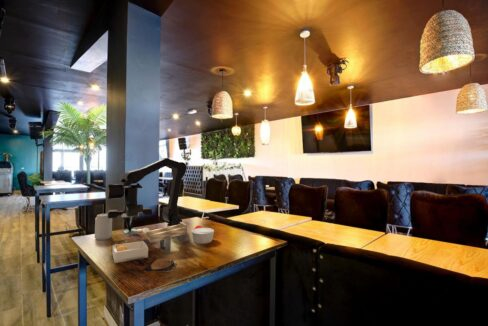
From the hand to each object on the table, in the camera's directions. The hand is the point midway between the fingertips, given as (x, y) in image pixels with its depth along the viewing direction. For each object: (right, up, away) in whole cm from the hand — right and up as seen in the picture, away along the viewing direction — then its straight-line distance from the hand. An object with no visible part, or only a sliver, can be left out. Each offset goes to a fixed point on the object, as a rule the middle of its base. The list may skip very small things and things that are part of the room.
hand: (129, 230), depth 114 cm
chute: (+13, -3, -3) cm, 14 cm away
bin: (+7, -6, -14) cm, 17 cm away
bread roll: (+23, -7, -25) cm, 35 cm away
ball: (+4, -3, -16) cm, 17 cm away
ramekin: (+33, -7, +7) cm, 35 cm away
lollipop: (+30, -7, +22) cm, 38 cm away
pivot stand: (+19, -7, -7) cm, 21 cm away
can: (-17, -6, +8) cm, 20 cm away
